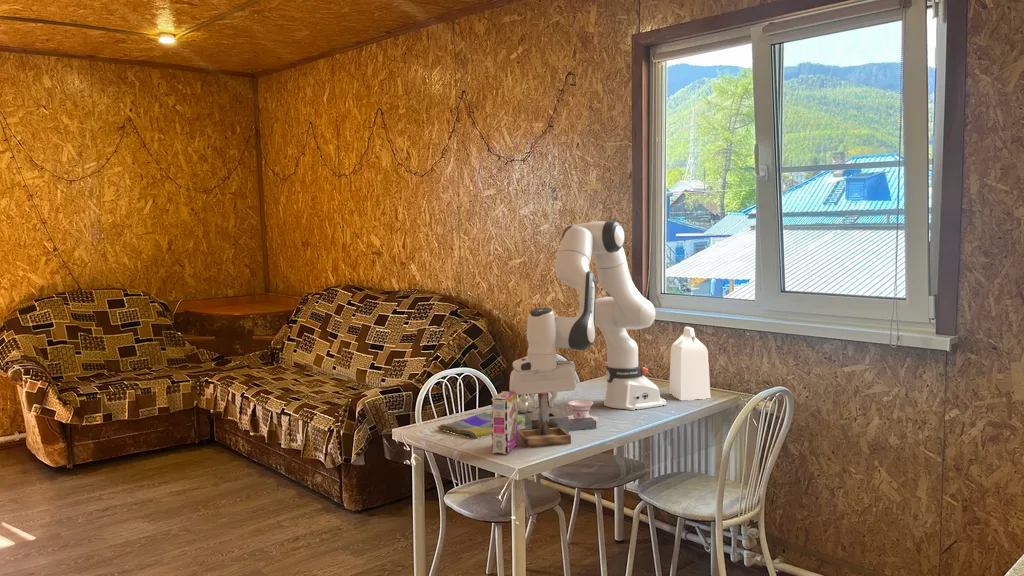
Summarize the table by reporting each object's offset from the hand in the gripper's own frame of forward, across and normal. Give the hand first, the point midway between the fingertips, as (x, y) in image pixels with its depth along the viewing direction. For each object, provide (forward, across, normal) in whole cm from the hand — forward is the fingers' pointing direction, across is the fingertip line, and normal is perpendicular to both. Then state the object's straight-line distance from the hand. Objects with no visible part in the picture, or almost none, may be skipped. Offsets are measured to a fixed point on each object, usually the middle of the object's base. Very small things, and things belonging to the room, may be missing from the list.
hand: (543, 407), depth 235 cm
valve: (+11, -3, -36) cm, 38 cm away
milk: (+11, -68, -40) cm, 80 cm away
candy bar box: (+11, +13, +5) cm, 18 cm away
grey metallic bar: (+8, 0, 0) cm, 8 cm away
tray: (+11, 0, 0) cm, 11 cm away
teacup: (+11, -18, -20) cm, 29 cm away
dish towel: (+11, +16, -23) cm, 30 cm away
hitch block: (+11, -9, -11) cm, 18 cm away
